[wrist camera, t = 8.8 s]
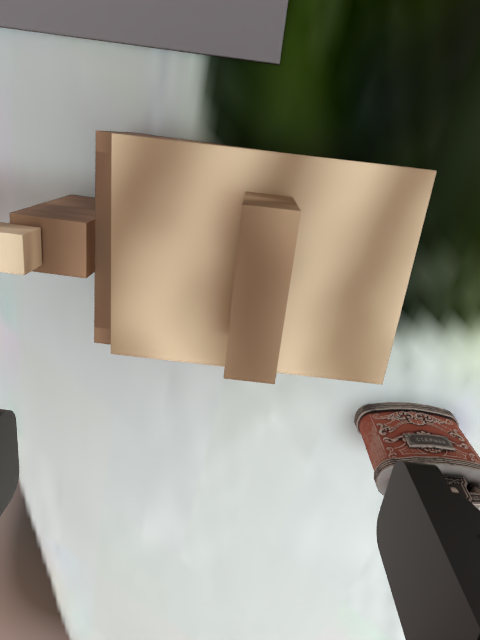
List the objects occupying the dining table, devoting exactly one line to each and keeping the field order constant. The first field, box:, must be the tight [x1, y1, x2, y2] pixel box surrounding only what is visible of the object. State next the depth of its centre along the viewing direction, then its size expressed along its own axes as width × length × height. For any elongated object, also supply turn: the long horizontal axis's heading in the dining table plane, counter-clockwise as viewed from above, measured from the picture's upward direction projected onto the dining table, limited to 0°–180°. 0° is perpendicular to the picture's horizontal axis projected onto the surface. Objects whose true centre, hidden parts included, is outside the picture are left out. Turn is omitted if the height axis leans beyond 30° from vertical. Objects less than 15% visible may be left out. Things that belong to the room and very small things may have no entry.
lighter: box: [355, 402, 480, 510], centre depth 33 cm, size 8×3×10 cm, turn 86°
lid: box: [111, 133, 436, 384], centre depth 23 cm, size 16×12×6 cm
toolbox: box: [10, 131, 274, 344], centre depth 28 cm, size 20×12×8 cm, turn 83°
